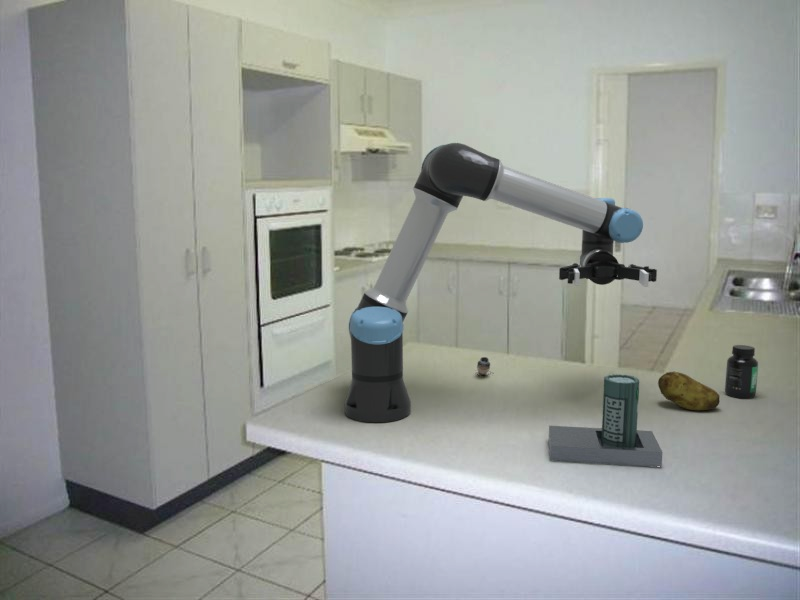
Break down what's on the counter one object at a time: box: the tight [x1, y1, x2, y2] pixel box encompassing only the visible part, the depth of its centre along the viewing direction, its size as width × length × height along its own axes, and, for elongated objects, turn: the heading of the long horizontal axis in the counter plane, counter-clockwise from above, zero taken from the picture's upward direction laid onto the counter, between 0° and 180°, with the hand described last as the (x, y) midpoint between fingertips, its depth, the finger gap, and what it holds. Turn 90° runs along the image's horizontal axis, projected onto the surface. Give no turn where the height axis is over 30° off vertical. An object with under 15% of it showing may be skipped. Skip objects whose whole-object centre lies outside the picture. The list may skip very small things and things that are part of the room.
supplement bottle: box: [724, 344, 759, 400], centre depth 170 cm, size 7×7×12 cm
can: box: [600, 373, 640, 448], centre depth 134 cm, size 6×6×15 cm
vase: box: [474, 356, 494, 376], centre depth 187 cm, size 5×5×6 cm
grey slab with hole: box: [548, 425, 664, 468], centre depth 135 cm, size 20×11×3 cm, turn 80°
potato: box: [657, 371, 720, 411], centre depth 161 cm, size 8×13×8 cm, turn 50°
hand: (611, 279), depth 143 cm, fingers open, 13 cm apart
